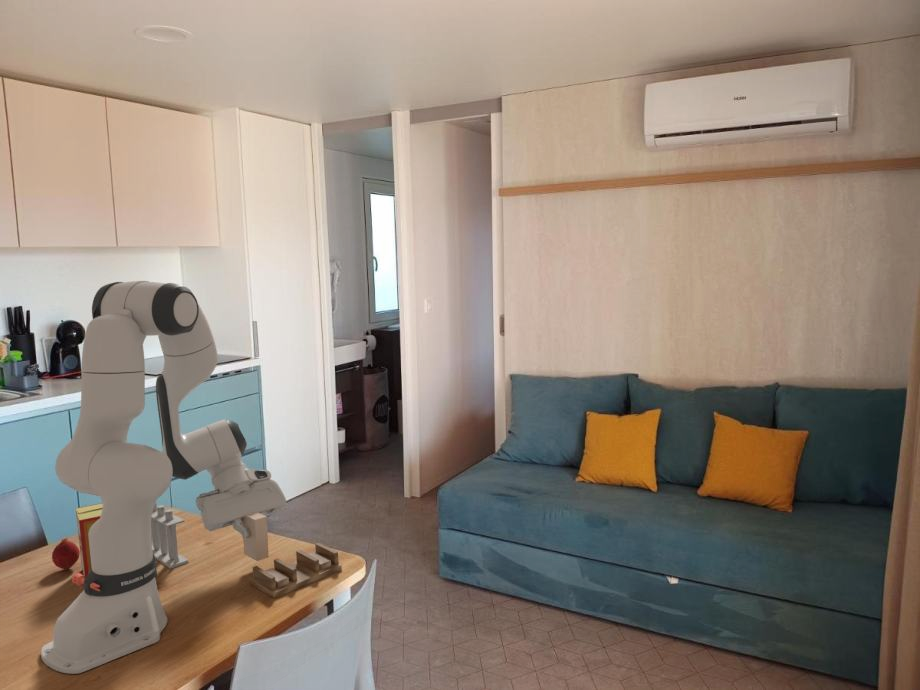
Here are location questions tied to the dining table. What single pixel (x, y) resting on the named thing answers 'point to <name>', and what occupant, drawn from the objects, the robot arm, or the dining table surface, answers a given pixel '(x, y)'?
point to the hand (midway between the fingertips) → (256, 534)
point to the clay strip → (256, 536)
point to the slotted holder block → (296, 571)
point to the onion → (65, 554)
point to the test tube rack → (165, 537)
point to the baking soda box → (86, 531)
